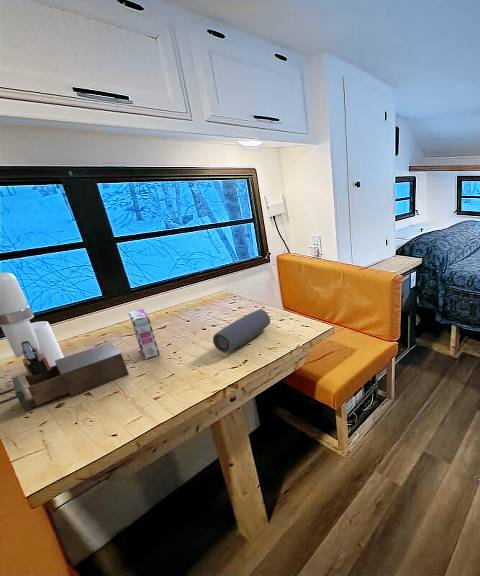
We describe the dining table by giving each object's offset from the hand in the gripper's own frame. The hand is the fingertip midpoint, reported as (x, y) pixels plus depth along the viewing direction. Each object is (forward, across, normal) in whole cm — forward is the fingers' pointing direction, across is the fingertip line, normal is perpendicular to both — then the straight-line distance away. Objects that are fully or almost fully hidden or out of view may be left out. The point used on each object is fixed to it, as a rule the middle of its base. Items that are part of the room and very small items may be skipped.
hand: (39, 369), depth 93 cm
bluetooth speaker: (+10, +18, +55) cm, 58 cm away
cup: (+10, -25, +2) cm, 27 cm away
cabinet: (+10, 0, +11) cm, 15 cm away
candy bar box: (+10, -5, +28) cm, 30 cm away
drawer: (+9, 0, -3) cm, 9 cm away
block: (0, 0, 0) cm, 0 cm away
